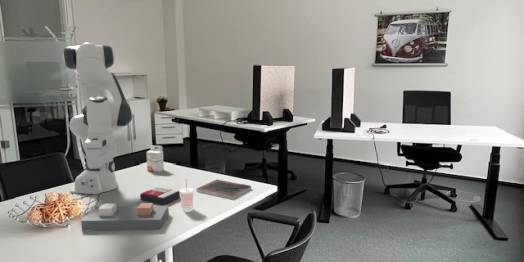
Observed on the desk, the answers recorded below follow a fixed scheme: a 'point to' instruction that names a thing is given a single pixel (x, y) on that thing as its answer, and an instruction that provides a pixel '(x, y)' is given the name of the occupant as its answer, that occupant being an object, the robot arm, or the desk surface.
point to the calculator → (160, 196)
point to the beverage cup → (186, 198)
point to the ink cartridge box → (155, 159)
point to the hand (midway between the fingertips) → (104, 173)
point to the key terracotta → (145, 209)
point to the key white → (107, 210)
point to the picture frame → (224, 189)
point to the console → (126, 219)
